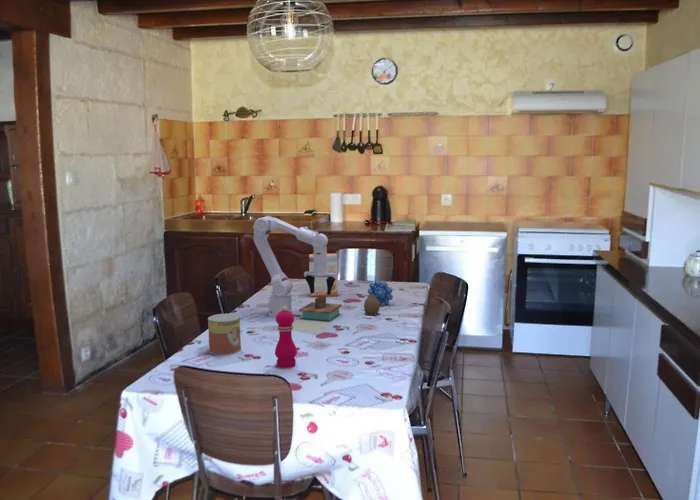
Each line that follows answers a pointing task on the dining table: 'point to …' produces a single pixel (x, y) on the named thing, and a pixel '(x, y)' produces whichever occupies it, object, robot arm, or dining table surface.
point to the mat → (309, 325)
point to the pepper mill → (285, 340)
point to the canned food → (224, 333)
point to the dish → (320, 315)
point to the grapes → (381, 292)
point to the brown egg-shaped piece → (371, 305)
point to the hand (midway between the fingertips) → (320, 293)
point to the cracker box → (320, 282)
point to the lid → (320, 306)
